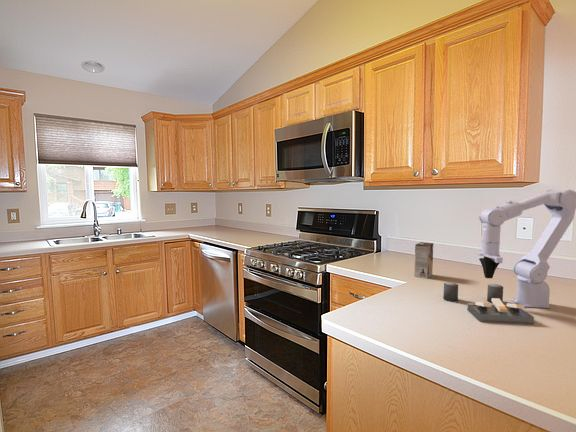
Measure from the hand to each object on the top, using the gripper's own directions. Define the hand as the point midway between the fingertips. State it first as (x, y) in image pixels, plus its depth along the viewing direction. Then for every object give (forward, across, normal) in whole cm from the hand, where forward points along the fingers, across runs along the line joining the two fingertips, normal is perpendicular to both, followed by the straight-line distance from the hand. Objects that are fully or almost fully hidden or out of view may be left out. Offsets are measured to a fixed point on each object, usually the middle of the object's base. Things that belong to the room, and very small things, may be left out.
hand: (488, 277), depth 122 cm
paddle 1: (+6, +13, -7) cm, 16 cm away
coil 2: (+10, -3, +4) cm, 11 cm away
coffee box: (+10, -38, -13) cm, 41 cm away
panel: (+10, +13, -2) cm, 16 cm away
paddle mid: (+6, +13, -2) cm, 14 cm away
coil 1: (+10, -3, -12) cm, 16 cm away
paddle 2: (+6, +13, +3) cm, 15 cm away
